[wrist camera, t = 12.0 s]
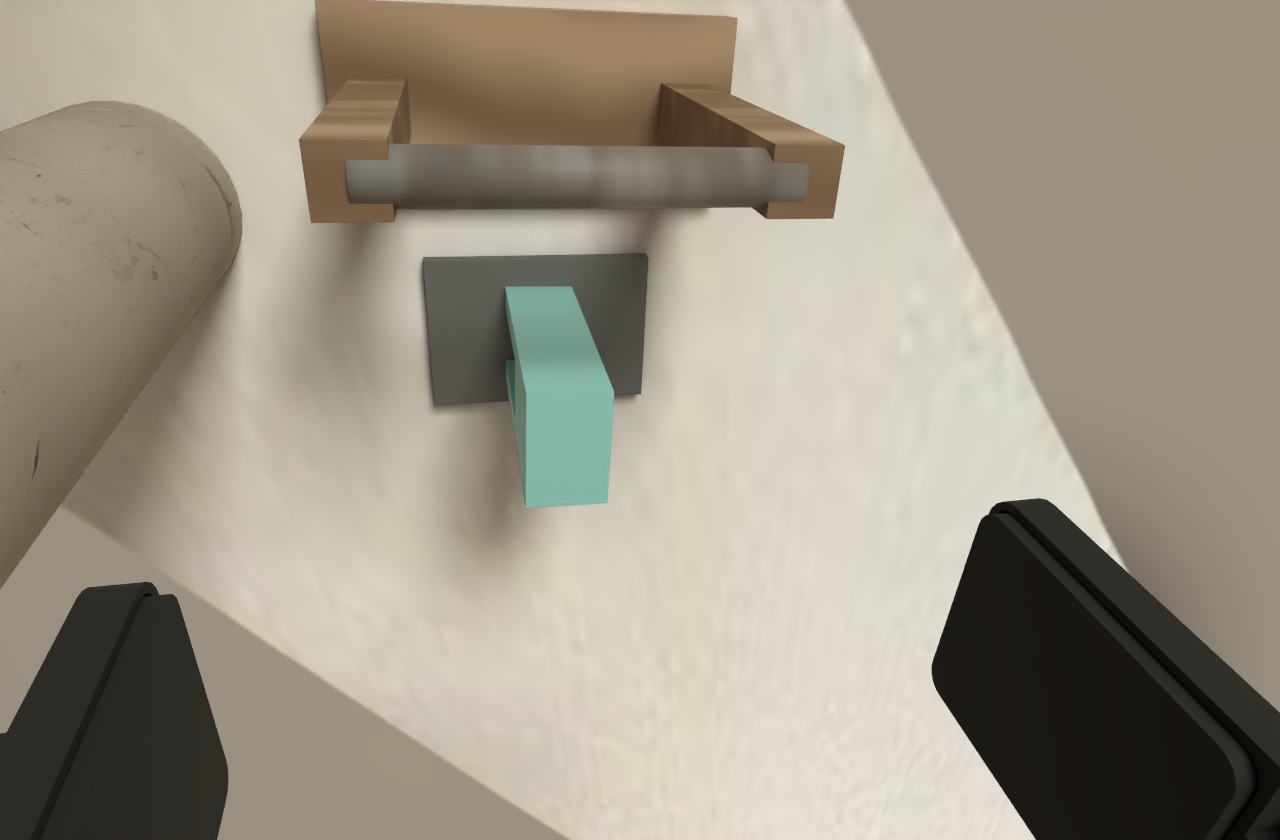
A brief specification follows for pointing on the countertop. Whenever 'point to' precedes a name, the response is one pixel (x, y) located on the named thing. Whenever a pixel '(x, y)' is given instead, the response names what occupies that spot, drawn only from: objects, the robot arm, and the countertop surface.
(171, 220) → the thermos bottle
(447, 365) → the mat
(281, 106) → the countertop surface
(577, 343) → the tall mint green block
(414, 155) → the stand
